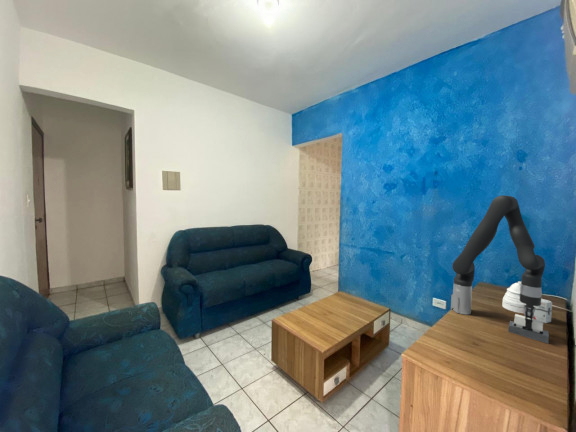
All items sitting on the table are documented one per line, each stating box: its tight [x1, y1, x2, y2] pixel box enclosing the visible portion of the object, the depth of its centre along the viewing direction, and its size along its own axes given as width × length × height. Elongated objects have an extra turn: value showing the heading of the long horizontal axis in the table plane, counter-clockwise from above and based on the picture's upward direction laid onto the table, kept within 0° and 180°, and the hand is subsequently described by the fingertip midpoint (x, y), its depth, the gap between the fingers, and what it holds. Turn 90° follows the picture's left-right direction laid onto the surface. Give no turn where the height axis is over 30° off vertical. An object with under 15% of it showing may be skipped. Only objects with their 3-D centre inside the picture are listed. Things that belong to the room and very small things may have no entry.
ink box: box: [533, 298, 553, 324], centre depth 134 cm, size 8×5×12 cm, turn 17°
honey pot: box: [501, 281, 526, 314], centre depth 147 cm, size 13×13×18 cm
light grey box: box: [513, 313, 544, 333], centre depth 119 cm, size 10×3×7 cm, turn 42°
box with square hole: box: [507, 320, 550, 344], centre depth 119 cm, size 14×7×4 cm, turn 42°
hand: (528, 326), depth 118 cm, fingers closed on light grey box, 3 cm apart
